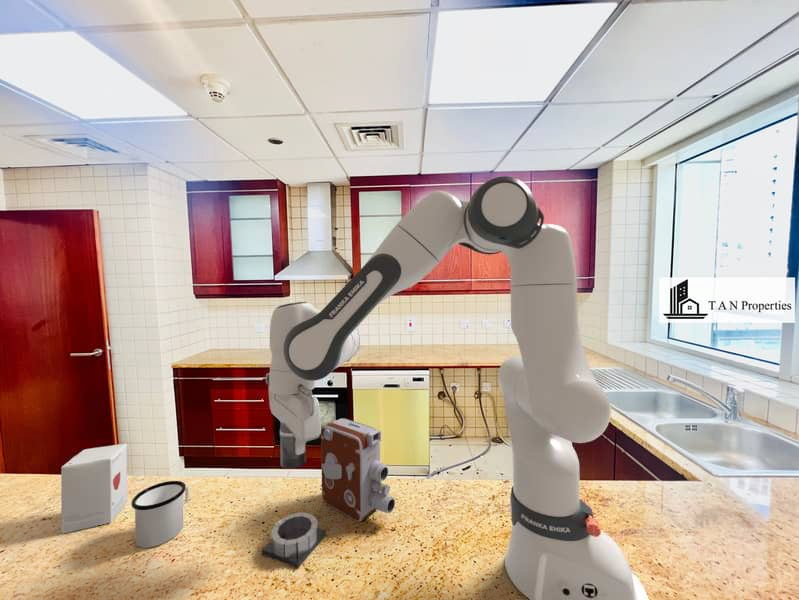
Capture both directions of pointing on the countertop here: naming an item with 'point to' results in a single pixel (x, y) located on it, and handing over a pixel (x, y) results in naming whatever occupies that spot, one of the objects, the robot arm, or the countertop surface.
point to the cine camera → (353, 469)
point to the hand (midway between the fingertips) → (293, 446)
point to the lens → (289, 449)
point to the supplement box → (93, 487)
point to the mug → (159, 513)
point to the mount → (294, 539)
